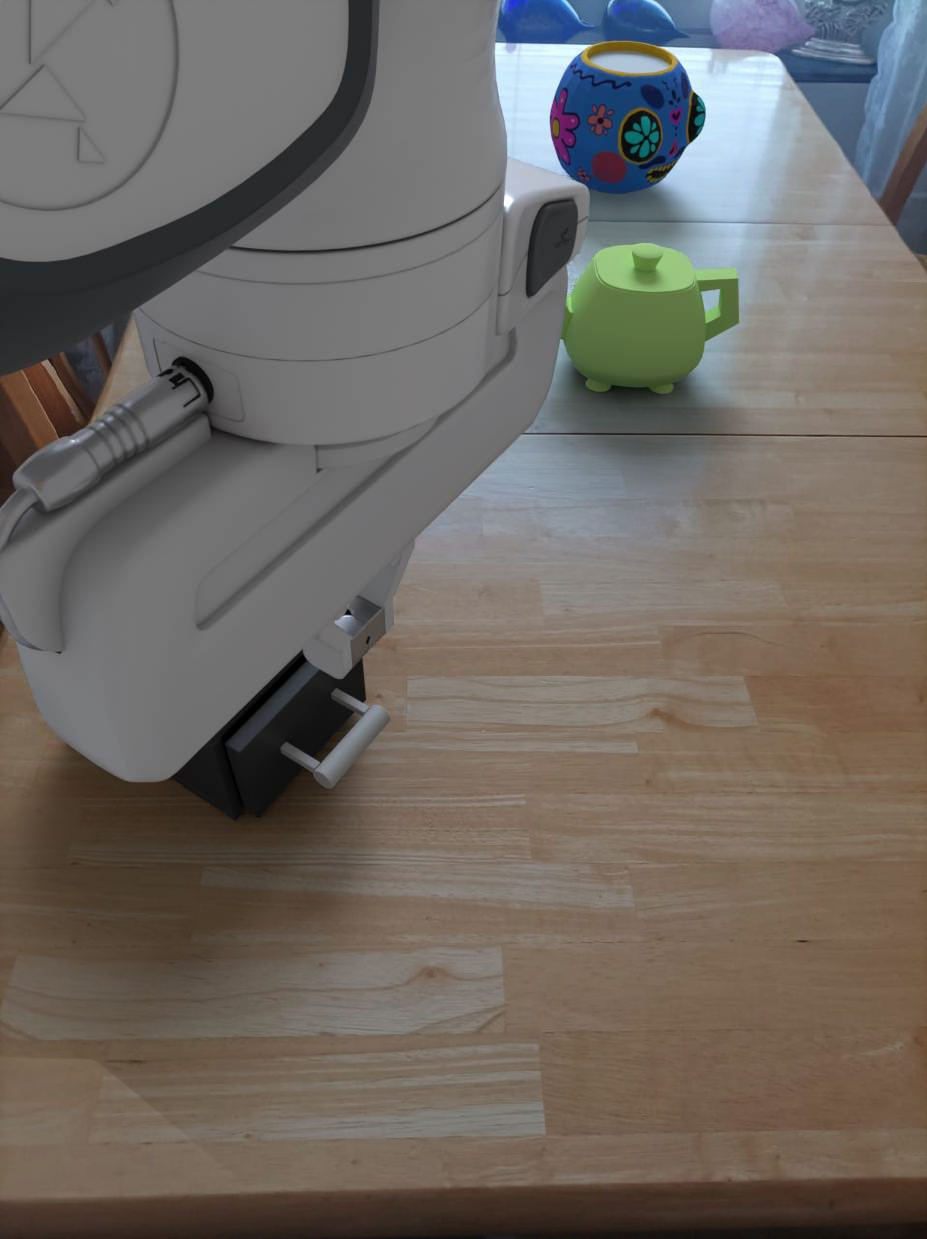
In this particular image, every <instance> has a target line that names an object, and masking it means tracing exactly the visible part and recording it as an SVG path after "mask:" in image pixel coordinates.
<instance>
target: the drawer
mask: <svg viewBox="0 0 927 1239" xmlns="http://www.w3.org/2000/svg"><path fill="white" fill-rule="evenodd" d="M364 670H365V669H364V656H363V657H362V658H361V659H360V661H359V662H358V663H357V664H356V665H355V666H354V667H353V668H352V669H351V670H350V671H349V672H348V673H347V675H346V676H345V677H344V678H343V679H337V678H334V677H333V676H331V675H329V674H327V673H326V672H324V671H322V670H320V669H319V668H317V667H315V666H313V665H312V664H311V663H310V662H309V661H308V660H307V659H306V657H305V655H304V654H303V655H302V656H301V657H300V658H299V659H298V660H297V661H296V662H295V663H294V664H293V665H292V666H291V667H290V668H289V669H288V670H287V671H286V672H285V673H284V674H283V675H282V676H281V677H280V678H279V679H278V680H277V681H276V682H275V683H274V684H273V685H272V686H271V687H270V688H269V689H268V690H267V691H266V692H265V693H264V694H263V695H262V696H261V697H260V698H259V699H258V700H257V701H256V702H255V703H254V704H253V705H252V706H251V707H250V708H249V709H248V710H247V711H246V712H245V713H244V714H243V715H242V716H241V717H240V718H239V719H238V720H237V721H236V722H235V723H234V724H233V725H232V726H231V727H230V728H229V729H228V730H227V731H226V732H225V733H224V734H223V735H222V736H221V737H220V738H221V740H222V744H223V747H224V750H225V753H226V757H227V760H228V763H229V766H230V770H231V773H232V776H233V779H234V783H235V786H236V789H237V788H238V789H239V793H240V796H241V799H242V803H243V806H244V809H245V812H246V813H247V814H249V815H251V816H252V817H254V818H256V819H257V820H259V819H260V818H262V816H263V815H265V813H266V812H267V811H268V810H269V809H270V807H271V806H272V805H273V804H275V802H276V801H277V800H278V799H279V798H280V796H281V795H283V793H284V792H285V791H286V790H287V788H289V786H290V785H291V784H292V783H293V782H294V781H295V780H296V779H297V777H298V776H299V775H300V774H301V773H302V772H303V771H304V769H307V770H308V771H309V772H311V773H312V775H313V777H314V779H315V781H317V783H319V784H320V786H322V787H324V788H326V789H329V790H330V789H333V788H334V787H335V785H336V784H337V783H338V782H339V781H340V780H341V779H342V777H343V776H344V775H345V774H346V773H347V771H348V770H349V769H350V768H351V767H352V766H353V765H354V763H355V762H356V761H357V760H358V759H359V758H360V757H361V756H362V754H363V753H364V752H365V751H366V750H367V748H369V746H370V745H371V744H372V743H373V742H374V740H375V739H376V738H377V737H378V736H379V735H380V733H381V732H383V730H384V729H385V728H386V726H387V725H388V724H389V723H390V722H391V718H392V717H391V715H390V713H389V712H388V711H387V709H386V708H384V707H383V706H381V705H379V704H372V705H371V706H368V705H367V704H365V702H366V701H367V692H366V681H365V671H364ZM354 714H356V715H358V716H360V719H358V721H357V722H356V723H355V725H353V727H352V728H350V730H349V731H348V732H347V734H346V735H345V736H344V737H343V738H342V739H341V740H340V741H339V742H338V743H337V744H336V746H335V747H334V748H333V749H332V751H330V752H329V754H328V755H327V756H326V757H325V758H324V759H323V760H322V761H321V762H320V761H319V760H317V759H315V757H316V756H317V755H318V754H320V752H321V751H322V749H324V748H325V746H326V745H327V744H328V743H329V742H330V741H331V740H332V739H333V737H335V736H336V734H337V733H338V732H339V731H340V730H341V729H342V727H343V726H344V725H345V724H346V723H347V722H348V721H349V720H350V719H351V717H352V716H353V715H354Z"/></svg>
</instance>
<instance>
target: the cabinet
mask: <svg viewBox="0 0 927 1239" xmlns="http://www.w3.org/2000/svg"><path fill="white" fill-rule="evenodd" d="M302 655H303V649H302V650H301V651H300V652H299V653H298V654H297V655H296V656H295V657H294V658H293V659H292V660H291V661H290V662H289V663H288V664H287V665H286V666H285V667H284V668H283V669H282V670H281V671H280V672H279V673H278V674H277V675H276V676H274V677H273V678H272V679H271V680H270V681H269V682H268V683H267V684H266V685H265V686H264V687H263V688H262V689H261V690H260V691H259V692H258V693H257V694H256V695H255V696H254V697H253V698H252V699H251V700H250V701H249V702H248V703H247V704H246V705H245V706H244V707H243V708H242V709H241V710H240V711H239V712H238V713H237V714H236V715H235V716H234V717H233V718H232V719H231V720H230V721H228V722H227V723H226V724H225V725H224V726H223V727H222V728H221V729H220V730H219V731H218V732H217V733H216V734H215V735H214V736H213V737H212V738H211V739H210V740H209V741H208V742H207V743H206V744H205V745H204V746H203V747H202V748H201V749H200V750H199V751H198V752H197V753H196V754H195V755H194V756H193V757H192V758H191V759H190V760H189V761H188V762H187V763H186V764H185V765H184V766H183V767H182V768H181V769H180V770H179V771H177V772H176V773H175V774H174V775H172V776H171V777H169V779H171V780H173V781H174V782H176V783H178V784H179V785H180V786H182V787H184V788H185V789H186V790H188V791H189V792H191V793H192V794H194V795H195V796H197V797H198V798H200V799H201V800H203V801H204V802H206V803H207V804H209V805H210V806H212V807H214V808H215V809H216V810H218V811H219V812H221V813H222V814H224V815H226V816H227V817H228V818H230V819H232V820H233V821H234V822H237V821H238V820H239V819H240V818H241V817H242V815H243V814H245V812H246V811H245V809H244V806H243V803H242V799H241V796H240V793H239V789H238V788H237V789H236V786H235V783H234V779H233V776H232V773H231V770H230V766H229V763H228V760H227V757H226V753H225V750H224V747H223V744H222V740H221V738H220V737H221V736H222V735H223V734H224V733H225V732H226V731H227V730H228V729H229V728H230V727H231V726H232V725H233V724H234V723H235V722H236V721H237V720H238V719H239V718H240V717H241V716H242V715H243V714H244V713H245V712H246V711H247V710H248V709H249V708H250V707H251V706H252V705H253V704H254V703H255V702H256V701H257V700H258V699H259V698H260V697H261V696H262V695H263V694H264V693H265V692H266V691H267V690H268V689H269V688H270V687H271V686H272V685H273V684H274V683H275V682H276V681H277V680H278V679H279V678H280V677H281V676H282V675H283V674H284V673H285V672H286V671H287V670H288V669H289V668H290V667H291V666H292V665H293V664H294V663H295V662H296V661H297V660H298V659H299V658H300V657H301V656H302Z"/></svg>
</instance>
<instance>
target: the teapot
mask: <svg viewBox="0 0 927 1239" xmlns="http://www.w3.org/2000/svg"><path fill="white" fill-rule="evenodd" d="M739 289H740V288H739V276H738V271H737V268H736V267H723V268H705V269H704V268H703V269H695V268H694V265H693V264H692V261H691V260H690V258H688V256H687V255H685V254H684V253H682V252H681V251H678V250H676V249H674V248H671V247H666V246H665V247H664V246H660V245H657V244H654V243H651V242H640V243H637V244H619V245H612V246H608V247H605V248H603V249H601V250H599V251H597V252H596V253H595V254H594V256H593V257H592V258H591V260H590V261H589V262H588V264H587V265H586V266H585V268H584V269H583V271H582V273H581V274H580V276H579V277H578V279H577V280H576V282H575V284H574V285H573V288H572V290H571V292H570V295H567V299H566V306H565V313H564V320H563V327H562V333H561V339H560V340H563V345H564V349H565V351H566V353H567V355H568V357H569V360H570V361H571V363H572V364H573V366H574V367H575V369H576V370H577V371H578V372H579V373H580V374H581V375H582V376H584V377H586V378H587V380H586V381H585V385H586V387H587V388H588V389H589V390H591V391H592V392H593V391H594V392H596V393H604V392H607V391H609V390H611V389H612V385H613V386H618V387H626V388H627V387H628V388H648V389H649V390H650V391H652V392H654V393H656V394H660V395H661V394H662V395H664V394H669V393H671V392H672V391H673V390H674V383H676V382H679V381H681V380H682V379H683V378H685V377H687V376H688V375H689V374H690V373H691V372H693V371H694V370H695V369H696V368H697V367H698V366H699V364H700V363H701V361H702V359H703V356H704V351H705V344H706V342H707V341H710V340H711V339H713V338H715V337H717V336H719V335H721V334H723V333H724V332H725V331H728V330H729V329H731V328H733V327H736V326H737V325H738V324H740V298H739V297H740V296H739V294H740V293H739V291H740V290H739ZM716 290H719V294H718V305H715V306H714V307H712V308H710V309H708V310H705V303H704V299H703V294H702V292H709V291H716Z"/></svg>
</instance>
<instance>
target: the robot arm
mask: <svg viewBox="0 0 927 1239" xmlns="http://www.w3.org/2000/svg"><path fill="white" fill-rule="evenodd" d="M502 1H503V0H0V378H1V377H5V376H8V375H12V374H14V373H18V372H20V371H23V370H25V369H28V368H30V367H33V366H35V365H38V364H40V363H42V362H45V361H47V360H49V359H51V358H53V357H56V356H57V355H59V354H61V353H63V352H65V351H67V350H70V349H71V348H73V347H75V346H76V345H78V344H79V343H82V342H83V341H86V340H87V339H89V338H90V337H92V336H94V335H95V334H97V333H99V332H101V331H102V330H104V329H105V328H107V327H109V326H111V325H112V324H114V323H115V322H117V321H119V320H120V319H122V318H123V317H125V316H127V315H129V314H130V313H131V312H132V315H133V318H134V322H135V326H136V330H137V334H138V338H139V343H140V346H141V350H142V355H143V357H144V361H145V365H146V366H145V367H146V369H147V371H148V374H149V376H150V379H149V380H147V381H146V382H144V383H142V384H141V385H139V386H138V387H136V388H135V389H133V390H131V391H130V392H128V393H127V394H125V395H124V396H122V397H121V398H120V399H119V400H117V401H116V402H115V403H113V404H112V405H111V406H110V407H108V409H106V410H105V411H104V412H103V414H101V415H100V416H99V417H98V418H96V419H95V420H93V421H92V422H91V423H89V424H87V425H86V426H84V427H83V428H81V429H79V430H77V431H76V432H74V433H73V434H70V436H68V435H65V436H62V437H60V438H57V439H54V440H53V441H51V442H50V443H48V444H47V445H45V446H43V447H41V448H40V449H38V450H36V451H35V452H34V453H33V454H32V455H31V456H29V457H28V458H27V459H26V460H25V461H24V462H23V463H22V464H21V465H20V466H19V467H18V468H17V469H16V470H15V471H14V472H13V474H12V484H13V486H14V489H15V491H14V492H13V493H12V494H11V495H10V496H9V497H8V498H7V499H6V501H5V502H4V503H3V504H2V505H1V506H0V621H1V622H2V624H3V626H4V628H5V630H6V632H7V633H8V635H10V636H11V637H12V638H13V641H14V643H15V644H14V645H15V648H16V651H17V654H18V657H19V661H20V663H21V667H22V670H23V673H24V676H25V679H26V681H27V684H28V688H29V690H30V692H31V695H32V698H33V700H34V702H35V706H36V707H37V710H38V712H39V715H40V716H41V718H42V720H43V721H44V723H45V724H46V725H47V727H48V728H49V729H50V730H51V731H52V732H53V733H54V734H55V735H56V736H57V737H58V738H60V740H62V741H63V742H65V743H66V744H67V745H68V746H70V747H71V748H72V749H74V750H75V751H76V752H78V753H79V754H81V755H82V756H83V757H84V758H86V759H87V760H89V761H91V762H92V763H93V764H95V765H96V766H98V767H100V768H101V769H102V770H104V771H106V772H107V773H110V774H111V775H113V776H114V777H117V778H119V779H120V780H123V781H124V782H125V781H126V782H129V783H156V782H157V783H158V782H162V781H166V780H168V779H170V777H171V776H172V775H174V774H175V773H176V772H177V771H179V770H180V769H181V768H182V767H183V766H184V765H185V764H186V763H187V762H188V761H189V760H190V759H191V758H192V757H193V756H194V755H195V754H196V753H197V752H198V751H199V750H200V749H201V748H202V747H203V746H204V745H205V744H206V743H207V742H208V741H209V740H210V739H211V738H212V737H213V736H214V735H215V734H216V733H217V732H218V731H219V730H220V729H221V728H222V727H223V726H224V725H225V724H226V723H227V722H228V721H230V720H231V719H232V718H233V717H234V716H235V715H236V714H237V713H238V712H239V711H240V710H241V709H242V708H243V707H244V706H245V705H246V704H247V703H248V702H249V701H250V700H251V699H252V698H253V697H254V696H255V695H256V694H257V693H258V692H259V691H260V690H261V689H262V688H263V687H264V686H265V685H266V684H267V683H268V682H269V681H270V680H271V679H272V678H273V677H274V676H276V675H277V674H278V673H279V672H280V671H281V670H282V669H283V668H284V667H285V666H286V665H287V664H288V663H289V662H290V661H291V660H292V659H293V658H294V657H295V656H296V655H297V654H298V653H299V652H300V651H301V650H302V649H303V654H304V655H305V657H306V659H307V660H308V661H309V662H310V663H311V664H312V665H313V666H315V667H317V668H319V669H320V670H322V671H324V672H326V673H327V674H329V675H331V676H333V677H334V678H337V679H343V678H344V677H345V676H346V675H347V673H348V672H349V671H350V670H351V669H352V668H353V667H354V666H355V665H356V664H357V663H358V662H359V661H360V659H361V658H362V657H363V658H364V656H365V655H366V654H367V653H368V652H369V651H370V650H371V649H372V648H373V647H374V646H375V645H376V644H377V643H378V642H379V641H380V640H381V639H382V638H383V637H384V636H385V635H386V634H387V633H388V632H389V631H390V630H391V629H392V627H393V626H394V625H395V624H394V623H395V622H394V620H395V619H394V597H396V596H397V595H396V594H397V592H398V589H399V587H400V584H401V582H402V579H403V576H404V574H405V572H406V570H407V566H408V564H409V561H410V559H411V556H412V554H413V551H414V548H415V543H416V542H415V541H416V538H418V537H419V536H420V534H422V533H423V532H424V531H425V530H426V529H427V528H428V527H429V526H430V525H431V524H432V523H433V522H434V521H435V520H436V519H437V518H438V517H439V516H440V515H441V514H443V512H444V511H446V510H447V508H448V507H449V506H451V505H452V503H453V502H454V501H456V499H458V497H460V496H461V495H462V493H464V492H465V491H466V490H467V489H468V488H469V487H470V486H471V485H472V484H473V483H474V482H475V481H476V480H477V479H478V478H479V477H480V476H481V475H482V474H483V473H484V472H485V471H486V470H487V469H488V468H489V467H490V466H491V465H492V464H493V463H494V462H495V461H496V460H497V459H498V458H500V457H501V456H502V454H504V453H505V452H506V450H508V449H509V448H510V447H511V445H513V444H514V443H515V442H516V441H517V440H518V439H519V438H520V437H521V436H522V435H524V433H525V432H526V431H527V430H529V429H530V428H531V426H532V425H533V424H534V423H535V421H536V419H537V417H538V415H539V413H540V412H541V409H542V407H543V405H544V403H545V401H546V399H547V396H548V394H549V391H550V389H551V386H552V383H553V380H554V375H555V371H556V364H557V359H558V356H559V349H560V344H561V340H562V339H561V333H562V327H563V320H564V313H565V306H566V299H567V296H568V290H569V272H568V265H569V264H570V263H571V262H573V260H574V259H575V258H576V257H577V256H578V254H579V253H580V252H581V249H582V247H583V245H584V241H585V237H586V232H587V226H588V221H589V213H590V204H591V203H590V202H591V200H590V198H591V197H590V196H591V195H590V191H589V188H588V187H586V186H585V185H584V184H582V183H579V182H577V181H576V180H574V179H572V178H570V177H567V176H565V175H562V174H559V173H557V172H554V171H551V170H548V169H545V168H543V167H540V166H539V165H534V164H532V163H530V162H526V161H523V160H520V159H517V158H514V157H511V156H508V134H507V127H506V122H505V117H504V113H503V108H502V105H501V100H500V94H499V88H498V82H497V66H496V65H497V64H496V41H497V30H498V29H497V28H498V23H499V16H500V11H501V6H502Z"/></svg>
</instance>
